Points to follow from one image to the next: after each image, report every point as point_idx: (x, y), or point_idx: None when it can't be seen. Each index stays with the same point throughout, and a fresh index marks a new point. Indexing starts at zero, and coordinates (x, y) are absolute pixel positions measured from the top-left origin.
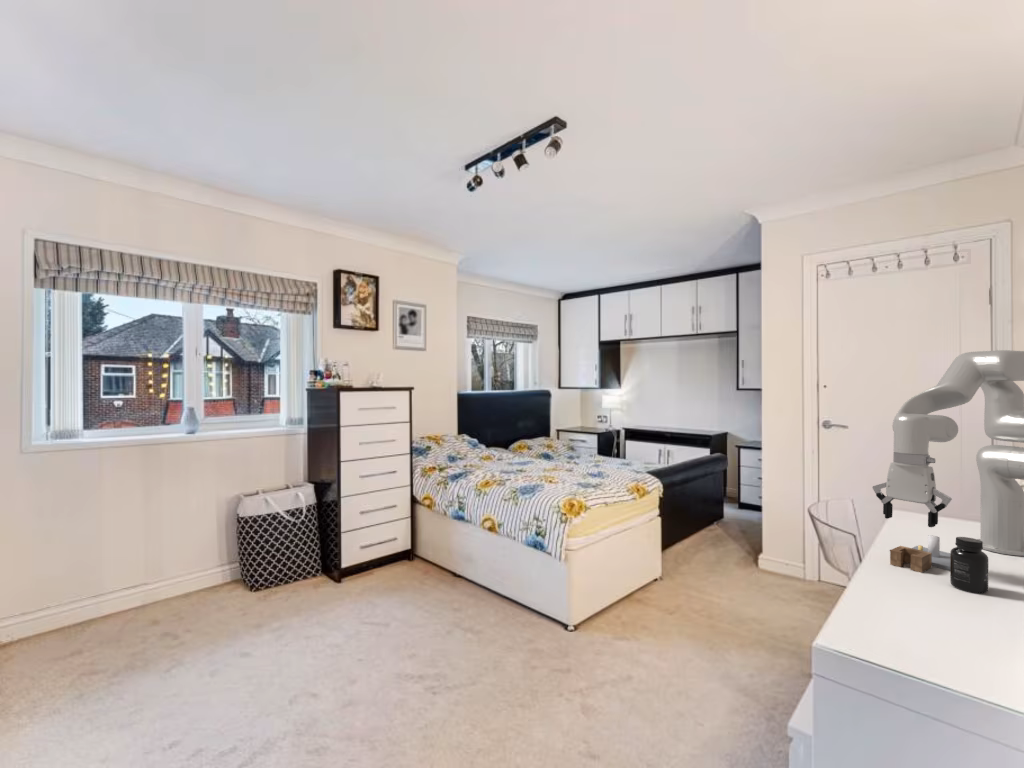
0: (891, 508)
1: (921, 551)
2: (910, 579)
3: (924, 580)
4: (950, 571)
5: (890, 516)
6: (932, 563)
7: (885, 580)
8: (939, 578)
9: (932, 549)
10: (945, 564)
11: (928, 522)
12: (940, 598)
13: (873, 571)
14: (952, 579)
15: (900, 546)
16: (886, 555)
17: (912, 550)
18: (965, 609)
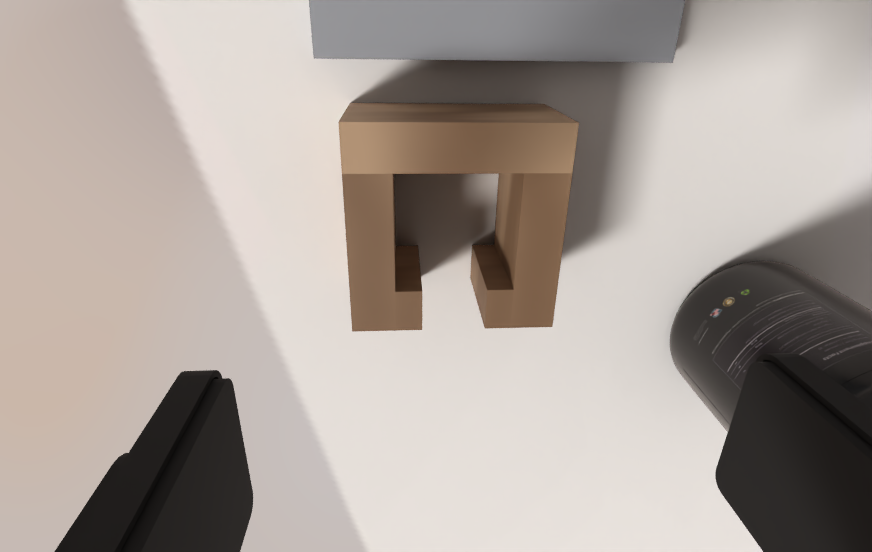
0: (178, 534)
1: (511, 154)
2: (514, 423)
3: (563, 384)
4: (703, 393)
5: (237, 448)
6: (547, 60)
7: (447, 515)
8: (613, 291)
9: None
10: (628, 26)
11: (751, 524)
12: (645, 524)
13: (364, 457)
14: (694, 391)
15: (351, 155)
16: (242, 76)
17: (450, 173)
18: (719, 549)
